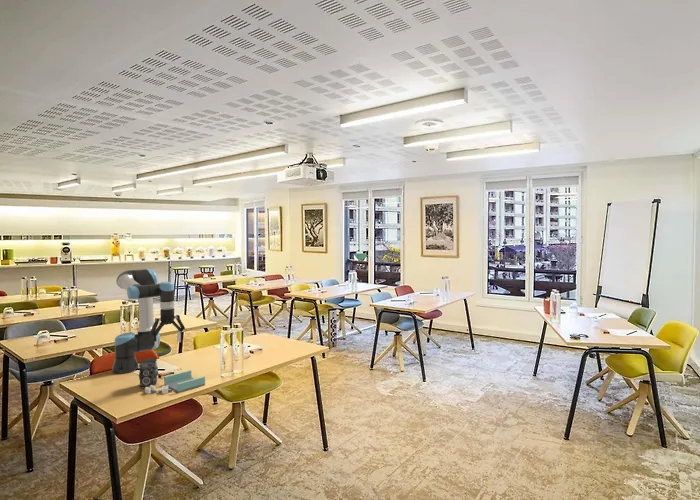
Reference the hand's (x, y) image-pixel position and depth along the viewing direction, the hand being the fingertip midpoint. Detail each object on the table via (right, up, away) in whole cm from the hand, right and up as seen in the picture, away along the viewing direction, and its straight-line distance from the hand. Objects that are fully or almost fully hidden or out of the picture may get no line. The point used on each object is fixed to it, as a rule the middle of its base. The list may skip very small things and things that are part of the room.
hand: (167, 344), depth 248 cm
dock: (+10, -24, -1) cm, 26 cm away
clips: (0, -24, -12) cm, 27 cm away
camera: (-10, -24, -3) cm, 26 cm away
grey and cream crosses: (-1, -24, -11) cm, 26 cm away
